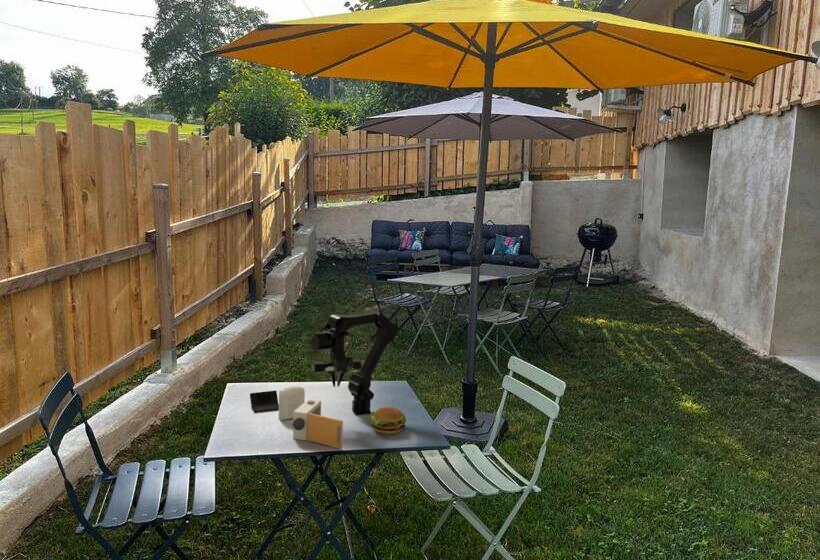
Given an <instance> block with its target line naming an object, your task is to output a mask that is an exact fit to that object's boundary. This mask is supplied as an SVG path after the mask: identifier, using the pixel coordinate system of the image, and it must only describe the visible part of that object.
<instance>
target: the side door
mask: <svg viewBox="0 0 820 560" xmlns="http://www.w3.org/2000/svg"><path fill="white" fill-rule="evenodd" d="M343 427H344V421H343V420H341V419H337V418H333V417H328V416H323V415H321V416H320V415H316V414H311V413H307V440H306V441H310V442H314V443H318V444H322V445H326V446H329V447H333V448H337V449H342V448H343V432H344V431H343V430H344V429H343Z"/></svg>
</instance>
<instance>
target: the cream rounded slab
mask: <svg viewBox="0 0 820 560" xmlns="http://www.w3.org/2000/svg"><path fill="white" fill-rule="evenodd" d="M305 396H306V395H305V388H304V387H303V386H299V385H293V386H288V387H283V388H281V389H280V390H279V391H278V404H279V410H278V419H279V420H280V421H282V420H284V421H285V420H289V419H290V420H291V419H293V415H294V411H295V410H296V409H297V408H298V407H300V406H301V405H302V404H303V403H305V402H306V401H305V399H306V397H305Z"/></svg>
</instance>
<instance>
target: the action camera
mask: <svg viewBox="0 0 820 560" xmlns="http://www.w3.org/2000/svg"><path fill="white" fill-rule="evenodd" d="M307 413H311V414H316V415H320V416H322V400H319V399H312V398H308V399H306V401H304V403H303V404H302V405H301V406H300V407H298V408H297V409H296V410H295V411H294V415H293V418H292V419H293V420H292V426H293V428H292V431H293V432H292V438H293V439H297V440H303V441H308V440H307Z"/></svg>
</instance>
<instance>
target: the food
mask: <svg viewBox="0 0 820 560" xmlns="http://www.w3.org/2000/svg"><path fill="white" fill-rule="evenodd" d="M371 412H372V413H371V414H369V415H368V417H367V419H368V420H369V421H371V422H370V423H371V425H372V429H373V431H375V432H377V433H379V434H384V435H393V434H398V433H400V431H401V432H402V431H403V430H404V428H405V426H406V422H407V418H406V416H405V414H404V413H403V411H401V410H400V409H399V408H396V407H394V406H393V407H392V406H383V407H379V408H377V409H376V410H375V411H371Z"/></svg>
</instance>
